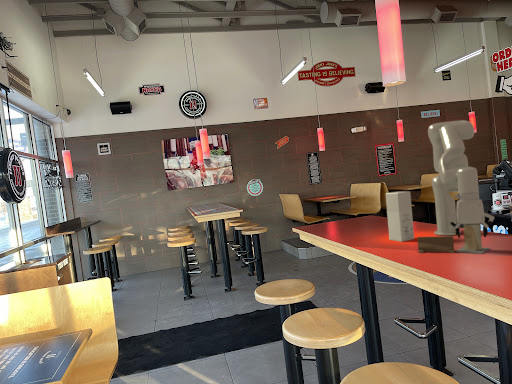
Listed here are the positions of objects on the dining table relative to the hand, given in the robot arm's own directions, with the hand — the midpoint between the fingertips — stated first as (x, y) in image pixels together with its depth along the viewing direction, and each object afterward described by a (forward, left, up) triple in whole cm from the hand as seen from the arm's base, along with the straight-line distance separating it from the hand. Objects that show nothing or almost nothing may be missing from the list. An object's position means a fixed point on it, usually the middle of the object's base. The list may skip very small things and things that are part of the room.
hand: (471, 236), depth 160 cm
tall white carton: (-15, -38, -6) cm, 42 cm away
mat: (0, 0, -6) cm, 6 cm away
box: (0, 0, -6) cm, 6 cm away
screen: (+7, -12, -6) cm, 15 cm away
